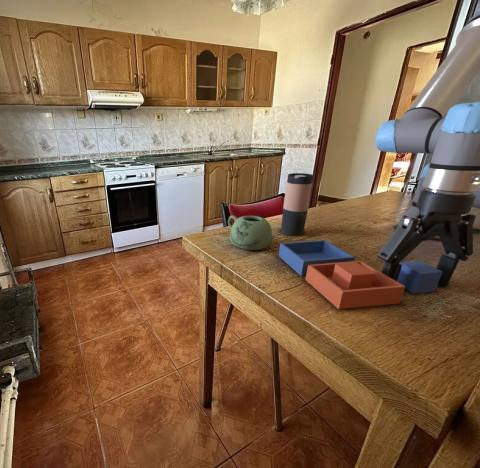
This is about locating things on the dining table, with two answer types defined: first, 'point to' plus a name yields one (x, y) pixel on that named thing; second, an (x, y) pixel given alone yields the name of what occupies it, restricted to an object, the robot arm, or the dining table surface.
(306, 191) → the travel mug
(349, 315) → the dining table surface
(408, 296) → the dining table surface
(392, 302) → the terracotta bin
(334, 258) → the blue bin
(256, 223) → the mug
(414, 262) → the blue block
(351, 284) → the terracotta block
